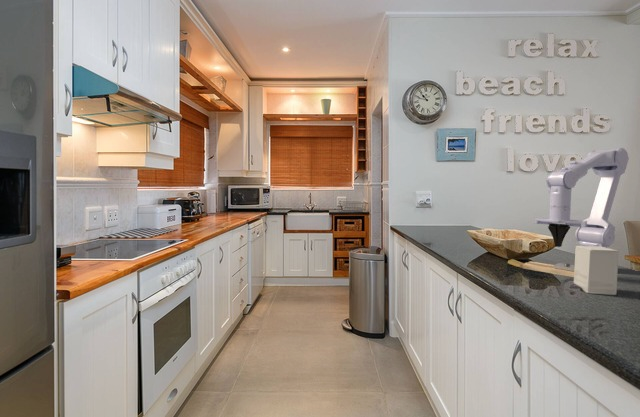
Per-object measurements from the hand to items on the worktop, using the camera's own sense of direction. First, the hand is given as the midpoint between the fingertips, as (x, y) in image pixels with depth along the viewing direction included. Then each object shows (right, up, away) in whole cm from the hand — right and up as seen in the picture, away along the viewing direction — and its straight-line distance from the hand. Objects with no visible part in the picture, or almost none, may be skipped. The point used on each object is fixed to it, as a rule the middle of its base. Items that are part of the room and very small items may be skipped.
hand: (558, 246), depth 112 cm
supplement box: (-2, -11, -16) cm, 20 cm away
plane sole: (-1, -10, +2) cm, 10 cm away
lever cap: (+2, -7, -2) cm, 8 cm away
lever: (-7, -8, +8) cm, 13 cm away
